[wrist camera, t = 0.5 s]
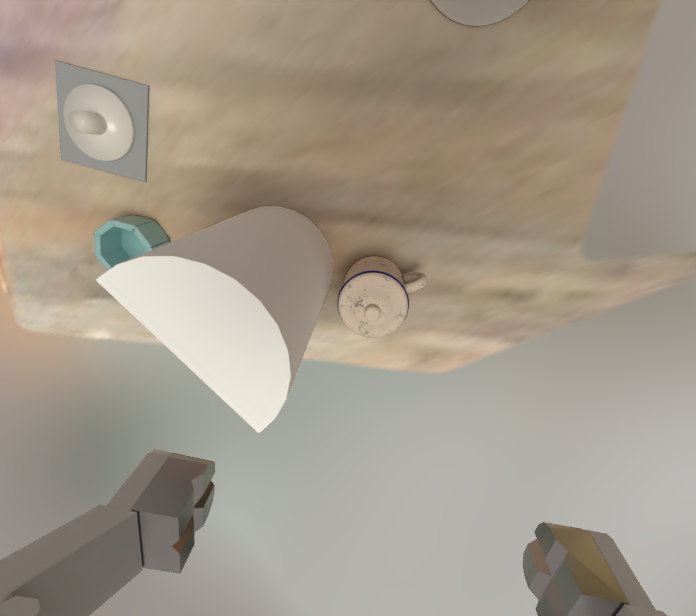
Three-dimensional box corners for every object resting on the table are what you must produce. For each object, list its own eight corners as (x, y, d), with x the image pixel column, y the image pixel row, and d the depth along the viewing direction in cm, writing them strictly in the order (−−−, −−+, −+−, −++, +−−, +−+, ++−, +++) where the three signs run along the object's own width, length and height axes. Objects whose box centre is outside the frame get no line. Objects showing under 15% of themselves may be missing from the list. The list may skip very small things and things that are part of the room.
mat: (57, 61, 47) (55, 60, 47) (149, 86, 47) (147, 85, 47) (62, 159, 52) (60, 159, 51) (146, 182, 52) (145, 182, 51)
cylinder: (278, 179, 50) (169, 203, 24) (357, 275, 54) (336, 382, 29) (196, 255, 55) (34, 342, 30) (274, 337, 60) (193, 476, 34)
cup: (118, 209, 54) (93, 215, 49) (172, 224, 54) (152, 230, 49) (118, 261, 57) (95, 270, 52) (169, 274, 57) (150, 285, 52)
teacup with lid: (356, 319, 57) (351, 357, 46) (334, 266, 54) (322, 293, 43) (431, 294, 55) (444, 328, 44) (412, 237, 52) (420, 259, 41)
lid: (67, 77, 47) (39, 70, 43) (136, 95, 47) (114, 90, 43) (71, 151, 51) (45, 150, 47) (135, 168, 51) (114, 169, 47)
